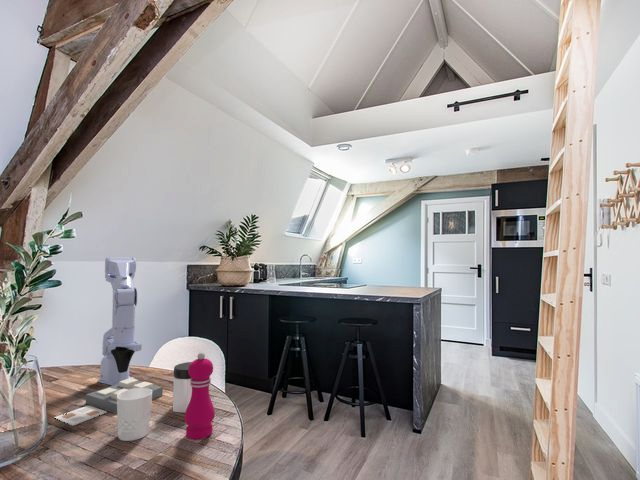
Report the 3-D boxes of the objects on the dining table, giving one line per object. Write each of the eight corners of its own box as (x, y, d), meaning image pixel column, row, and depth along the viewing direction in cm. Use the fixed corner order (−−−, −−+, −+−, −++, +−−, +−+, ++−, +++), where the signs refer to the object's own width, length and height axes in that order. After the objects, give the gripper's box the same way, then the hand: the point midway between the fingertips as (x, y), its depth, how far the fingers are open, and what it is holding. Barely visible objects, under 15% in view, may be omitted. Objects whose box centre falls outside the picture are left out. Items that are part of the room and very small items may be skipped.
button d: (132, 390, 112) (133, 385, 112) (144, 386, 115) (144, 381, 115) (141, 392, 110) (141, 387, 110) (152, 388, 113) (153, 383, 114)
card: (53, 418, 97) (54, 417, 98) (88, 406, 105) (88, 405, 105) (72, 425, 93) (72, 424, 93) (106, 412, 101) (107, 411, 101)
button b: (118, 386, 115) (119, 381, 115) (130, 382, 118) (130, 377, 119) (126, 388, 113) (126, 383, 113) (138, 385, 117) (138, 379, 117)
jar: (174, 402, 109) (175, 362, 109) (202, 399, 111) (203, 360, 112) (171, 415, 100) (172, 371, 101) (201, 411, 102) (202, 369, 103)
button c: (111, 398, 106) (111, 392, 106) (123, 393, 109) (124, 388, 109) (119, 400, 104) (119, 395, 104) (132, 396, 107) (132, 390, 107)
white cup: (141, 443, 85) (142, 400, 86) (108, 442, 85) (109, 399, 86) (156, 427, 93) (158, 388, 93) (126, 426, 93) (128, 387, 94)
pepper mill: (205, 442, 86) (207, 357, 86) (177, 439, 87) (180, 355, 88) (219, 428, 93) (221, 349, 94) (194, 425, 94) (195, 348, 95)
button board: (85, 403, 108) (86, 394, 108) (131, 387, 121) (132, 379, 121) (117, 413, 101) (117, 404, 101) (162, 395, 114) (162, 387, 114)
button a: (96, 397, 109) (96, 391, 109) (109, 392, 112) (109, 387, 112) (104, 399, 107) (104, 394, 107) (117, 395, 110) (117, 389, 110)
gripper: (97, 327, 112) (95, 371, 111) (126, 332, 105) (125, 379, 104) (119, 323, 118) (118, 365, 117) (148, 328, 111) (146, 372, 110)
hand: (122, 371), depth 111 cm, fingers closed
